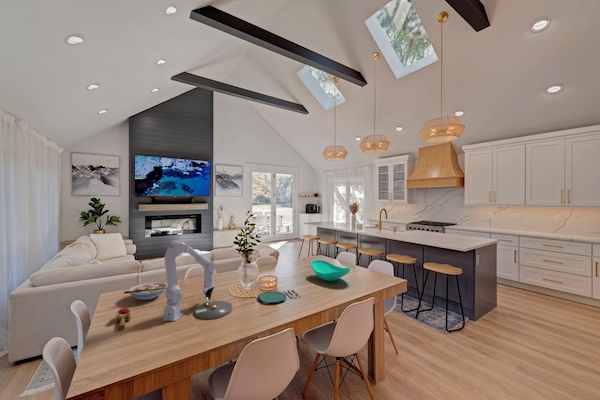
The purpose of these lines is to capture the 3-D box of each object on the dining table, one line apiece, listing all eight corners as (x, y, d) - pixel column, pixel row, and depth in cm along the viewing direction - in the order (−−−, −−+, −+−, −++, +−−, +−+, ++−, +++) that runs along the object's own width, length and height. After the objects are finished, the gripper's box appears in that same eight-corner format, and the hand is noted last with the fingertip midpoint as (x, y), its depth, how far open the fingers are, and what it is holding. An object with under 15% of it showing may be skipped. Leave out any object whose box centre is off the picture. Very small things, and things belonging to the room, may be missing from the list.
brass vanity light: (217, 307, 153) (217, 299, 153) (213, 309, 150) (213, 301, 150) (205, 303, 159) (205, 296, 159) (201, 305, 156) (201, 297, 156)
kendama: (132, 330, 131) (133, 312, 146) (129, 320, 130) (130, 302, 145) (114, 336, 127) (117, 317, 142) (111, 326, 126) (114, 308, 141)
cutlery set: (254, 296, 177) (254, 292, 177) (292, 290, 191) (292, 287, 191) (263, 307, 159) (263, 303, 159) (303, 300, 173) (304, 297, 173)
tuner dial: (226, 319, 142) (226, 316, 142) (188, 319, 141) (188, 316, 141) (235, 303, 164) (235, 301, 164) (202, 303, 163) (202, 300, 163)
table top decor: (302, 277, 221) (303, 262, 221) (323, 271, 240) (323, 258, 240) (337, 290, 192) (337, 273, 192) (357, 282, 211) (358, 267, 211)
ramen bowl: (170, 290, 185) (170, 279, 185) (167, 302, 164) (167, 289, 164) (131, 294, 175) (131, 282, 175) (122, 307, 154) (122, 294, 154)
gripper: (211, 282, 154) (210, 304, 154) (218, 275, 168) (218, 295, 168) (199, 282, 154) (199, 304, 154) (208, 275, 168) (207, 295, 168)
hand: (208, 299), depth 161 cm, fingers closed
